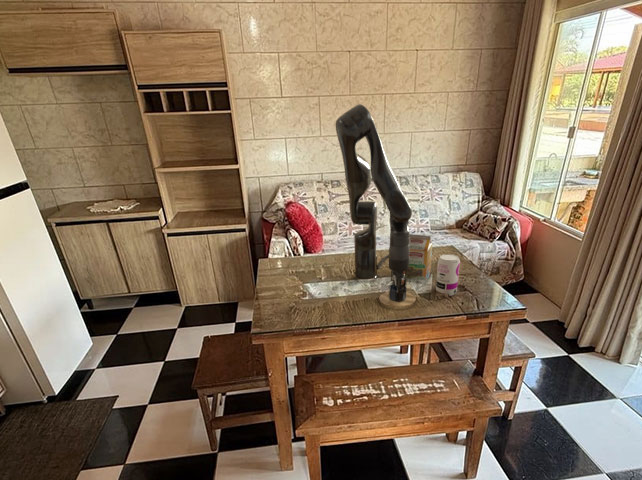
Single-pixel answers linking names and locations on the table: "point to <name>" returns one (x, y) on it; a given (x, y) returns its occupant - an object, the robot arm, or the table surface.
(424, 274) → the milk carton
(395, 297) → the dark grey basket
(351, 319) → the table surface
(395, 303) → the turntable
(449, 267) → the supplement can
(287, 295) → the table surface
